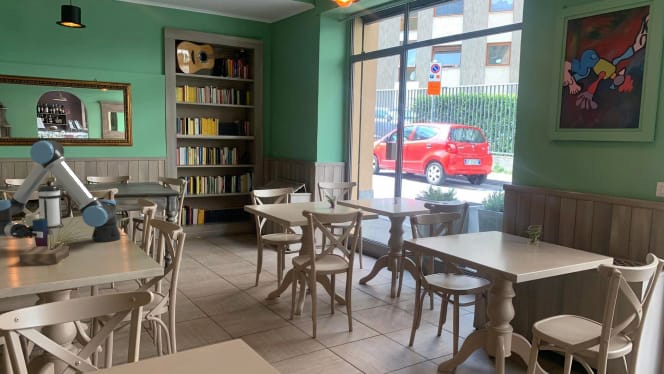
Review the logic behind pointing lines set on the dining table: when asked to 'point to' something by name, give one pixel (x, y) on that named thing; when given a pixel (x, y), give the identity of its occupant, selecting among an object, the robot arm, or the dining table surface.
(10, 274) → the dining table surface
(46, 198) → the coffee press
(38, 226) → the cup
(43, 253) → the walnut riser
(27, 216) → the character mug
